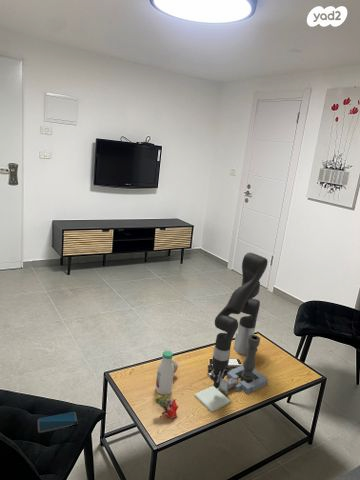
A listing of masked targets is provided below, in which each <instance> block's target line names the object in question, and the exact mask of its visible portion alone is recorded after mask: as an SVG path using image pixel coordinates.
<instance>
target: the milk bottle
mask: <svg viewBox="0 0 360 480" xmlns="http://www.w3.org/2000/svg"><path fill="white" fill-rule="evenodd" d="M172 360H173V352H172V351H171V350H164V351H163V352H162V358H161V361H160V362H159V365H158V366H157V374H156V381H155V391H156V392H157V393H158V394H159V395H162V396H164V395H165V396H166V395H168V394H170V393H171V392H172V390H173V381H174V374H175V373H174V366H173V363H172Z"/></svg>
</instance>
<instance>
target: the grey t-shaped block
mask: <svg viewBox="0 0 360 480" xmlns="http://www.w3.org/2000/svg"><path fill="white" fill-rule="evenodd" d="M237 384H239V379H238V380H237V379H236V378H232V379H230V380H229V379H227V380H226V379H225V378H224V379H221V381H220V386H219V388H217V389H218V390H219V391H220V392H221V393H222V394H223V395H225V396H226V395H228V394H229V390H230V389H231V388H234V387H235V385H237Z"/></svg>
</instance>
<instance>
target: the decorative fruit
mask: <svg viewBox="0 0 360 480" xmlns="http://www.w3.org/2000/svg"><path fill="white" fill-rule="evenodd" d="M172 363H173V366H174V374H176V372H177V371H178V367H179V365H178V363H177V361H176V360H175V359H172Z"/></svg>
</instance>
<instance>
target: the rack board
mask: <svg viewBox="0 0 360 480" xmlns="http://www.w3.org/2000/svg"><path fill="white" fill-rule="evenodd" d="M194 397H195V398H196V400H198V401H199V402H200V403H201V404H202V405H203V406H204V407H205V408H206V409H207V410H208V411H210V412H211V413H213V412H214V411H216V410H218V409H220V408H222V407H224V406H226V405H228V404H230V403H231V400H230V398H228V397H227V396H226V395H225V394H224V393H223V392H222V391H221V390H219V389H218V388H217V389H216V388H215V387H214V386H213V385H212V386H210V387H208V388H204V389H203V390H201V391H198V392H197V393H194Z"/></svg>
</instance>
